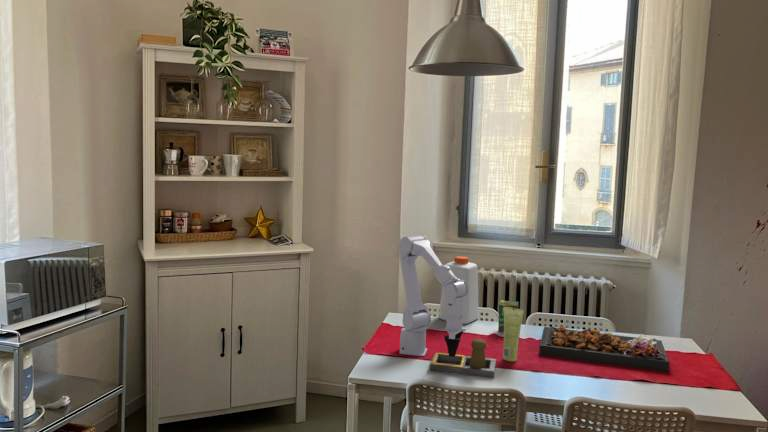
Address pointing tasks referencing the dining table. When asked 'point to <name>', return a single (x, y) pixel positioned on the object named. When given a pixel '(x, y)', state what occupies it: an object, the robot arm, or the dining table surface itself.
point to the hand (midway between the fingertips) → (453, 352)
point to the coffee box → (501, 313)
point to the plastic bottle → (470, 276)
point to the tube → (511, 332)
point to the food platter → (604, 348)
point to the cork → (478, 354)
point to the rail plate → (461, 368)
